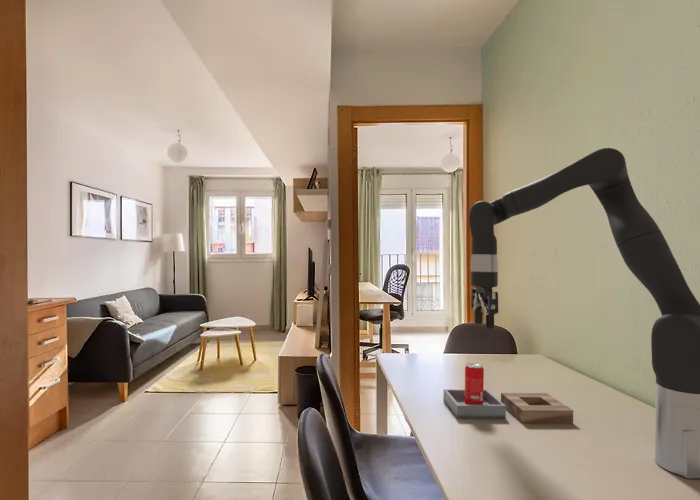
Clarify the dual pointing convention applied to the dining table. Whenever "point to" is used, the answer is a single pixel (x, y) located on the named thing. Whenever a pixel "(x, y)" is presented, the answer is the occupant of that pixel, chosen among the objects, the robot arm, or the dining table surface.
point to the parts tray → (489, 409)
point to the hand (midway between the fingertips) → (483, 326)
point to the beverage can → (474, 384)
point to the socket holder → (536, 408)
